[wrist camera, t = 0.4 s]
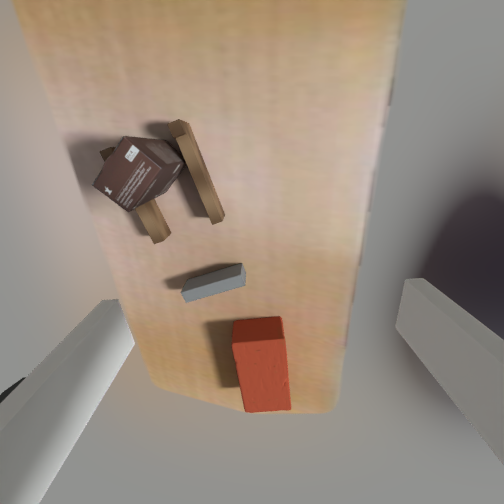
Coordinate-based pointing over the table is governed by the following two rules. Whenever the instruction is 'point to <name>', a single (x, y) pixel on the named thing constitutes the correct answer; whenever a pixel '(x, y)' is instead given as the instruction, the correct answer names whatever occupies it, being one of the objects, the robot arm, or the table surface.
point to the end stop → (214, 283)
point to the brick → (261, 364)
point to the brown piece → (199, 173)
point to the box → (139, 171)
